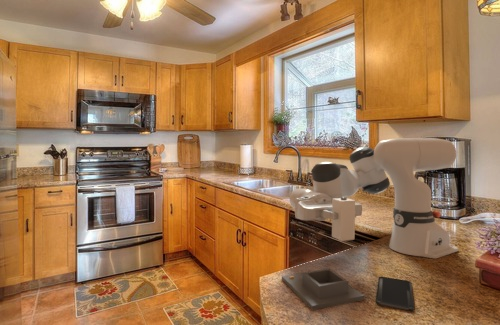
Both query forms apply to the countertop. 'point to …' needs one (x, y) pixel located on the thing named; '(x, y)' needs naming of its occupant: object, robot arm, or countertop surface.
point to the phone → (395, 294)
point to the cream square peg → (343, 219)
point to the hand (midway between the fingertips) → (345, 215)
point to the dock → (322, 288)
